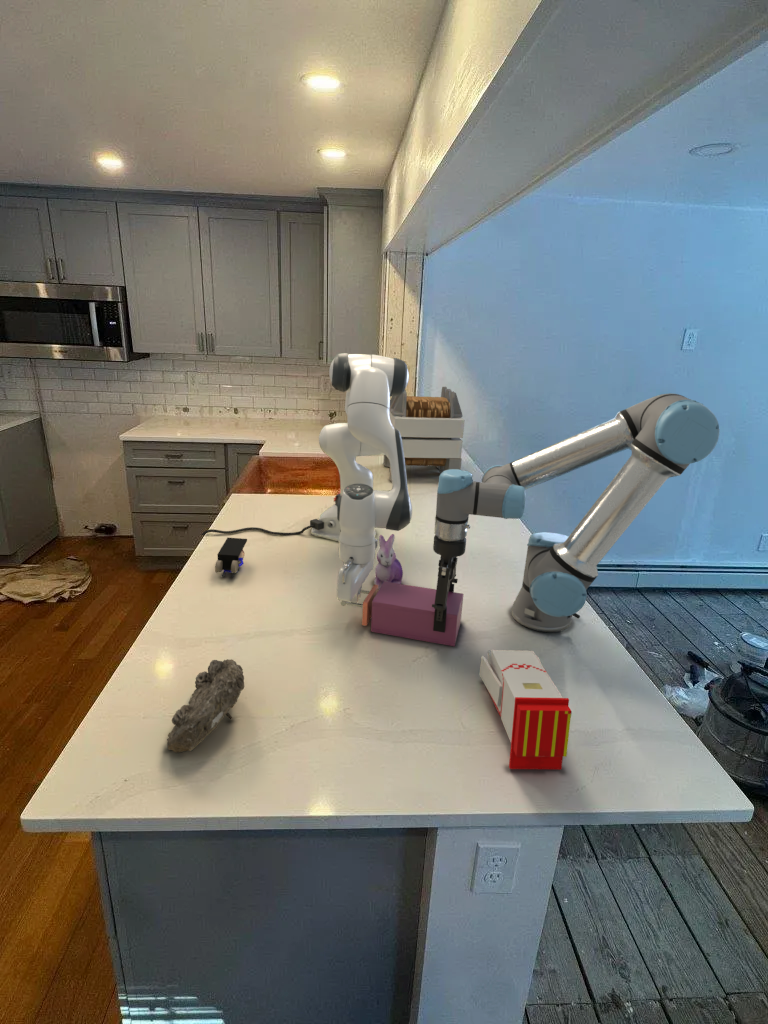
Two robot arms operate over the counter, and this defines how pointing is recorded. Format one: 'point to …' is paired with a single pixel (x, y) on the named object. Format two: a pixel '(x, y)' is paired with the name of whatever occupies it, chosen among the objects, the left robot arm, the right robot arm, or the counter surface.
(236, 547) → the figurine character
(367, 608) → the drawer
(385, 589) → the cabinet
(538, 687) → the toy
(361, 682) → the counter surface
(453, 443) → the transformer
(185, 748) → the fossil
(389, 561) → the figurine
